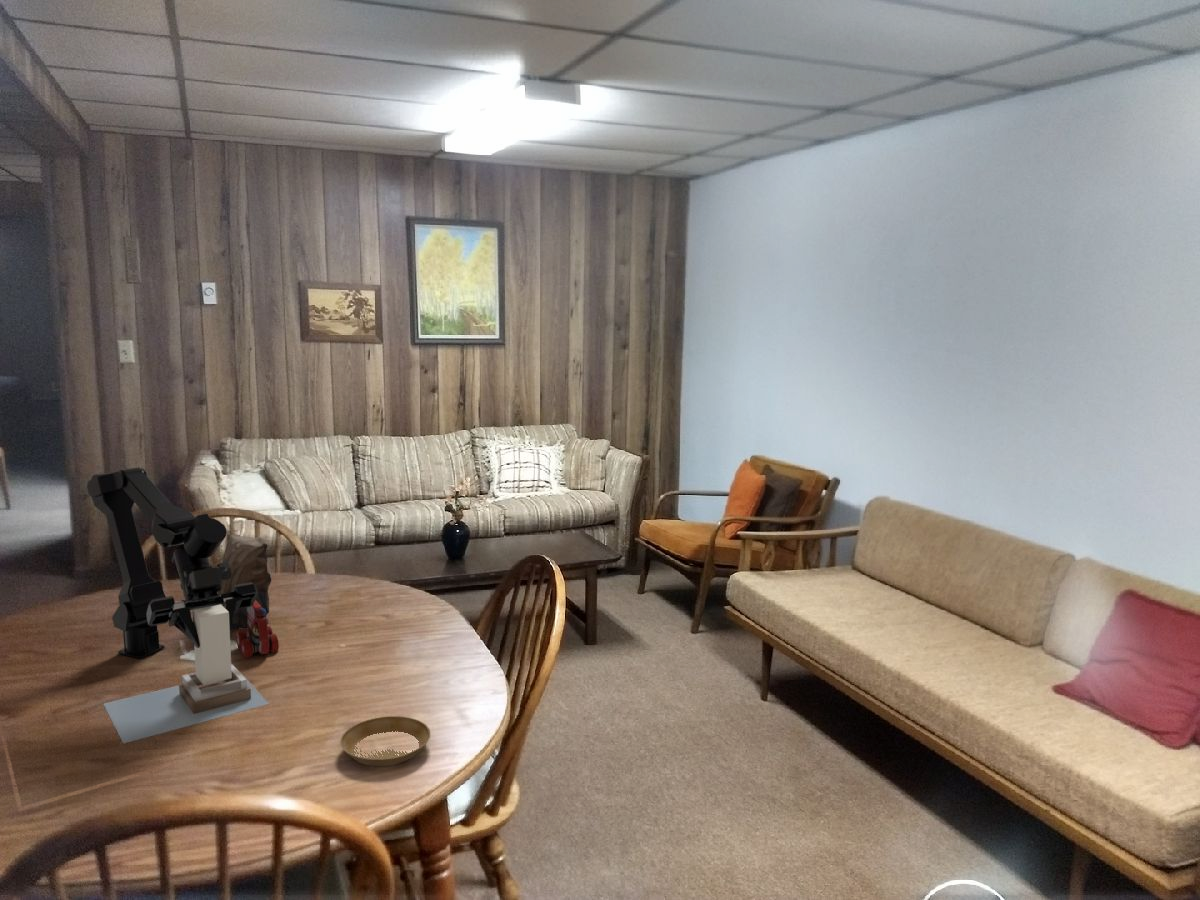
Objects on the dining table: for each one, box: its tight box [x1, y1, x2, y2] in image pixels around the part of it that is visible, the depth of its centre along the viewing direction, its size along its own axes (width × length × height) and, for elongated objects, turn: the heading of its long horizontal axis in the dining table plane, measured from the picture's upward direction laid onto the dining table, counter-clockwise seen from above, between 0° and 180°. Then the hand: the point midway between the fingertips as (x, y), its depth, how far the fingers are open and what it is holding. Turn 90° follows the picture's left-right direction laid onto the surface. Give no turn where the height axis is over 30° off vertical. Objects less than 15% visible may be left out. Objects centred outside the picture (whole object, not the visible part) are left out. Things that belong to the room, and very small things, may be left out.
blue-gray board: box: [103, 670, 270, 745], centre depth 154 cm, size 18×24×1 cm
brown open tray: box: [178, 663, 251, 714], centre depth 157 cm, size 10×10×4 cm
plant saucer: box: [339, 715, 431, 767], centre depth 141 cm, size 15×15×3 cm
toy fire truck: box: [235, 600, 280, 659], centre depth 179 cm, size 7×12×10 cm, turn 35°
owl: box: [218, 533, 272, 631], centre depth 195 cm, size 13×13×20 cm
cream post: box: [191, 604, 232, 685], centre depth 156 cm, size 5×5×13 cm
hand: (214, 643), depth 155 cm, fingers closed on cream post, 5 cm apart
